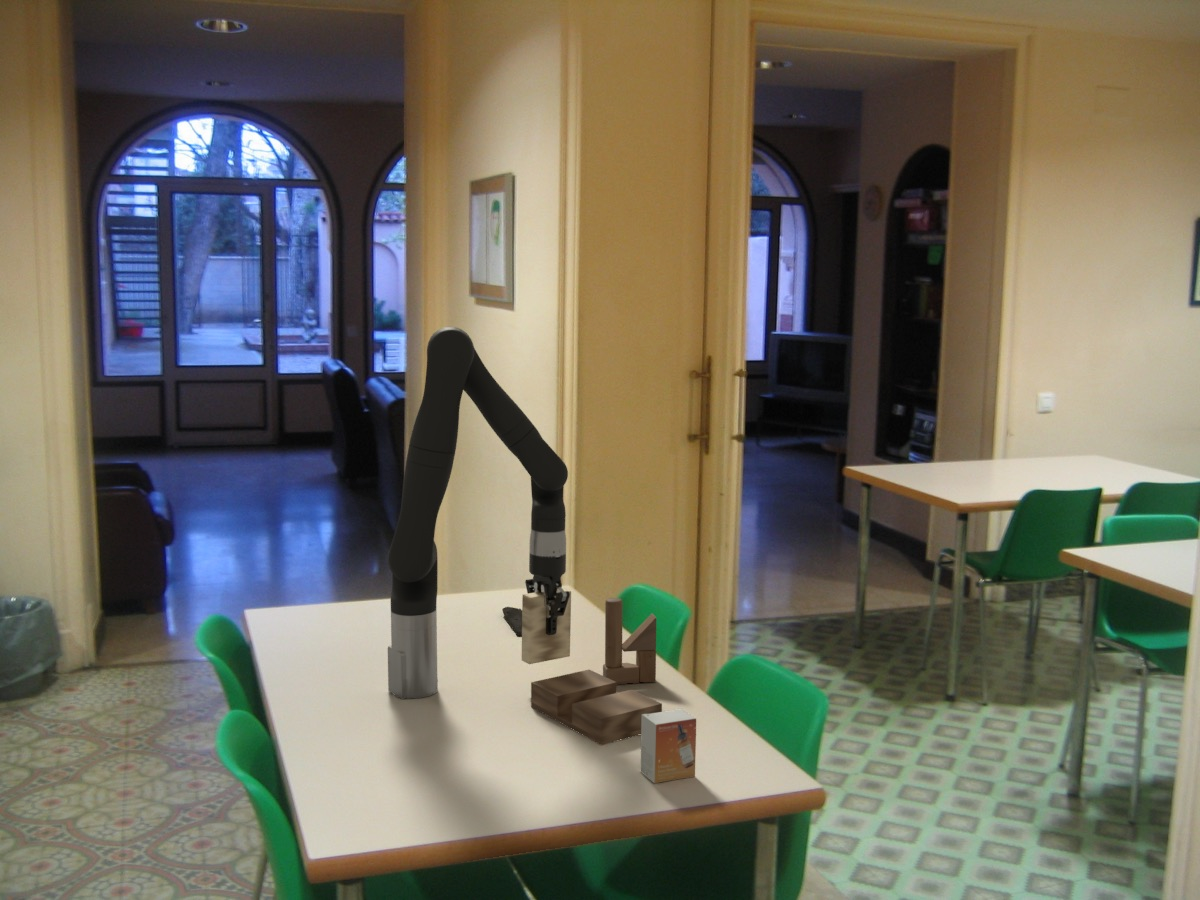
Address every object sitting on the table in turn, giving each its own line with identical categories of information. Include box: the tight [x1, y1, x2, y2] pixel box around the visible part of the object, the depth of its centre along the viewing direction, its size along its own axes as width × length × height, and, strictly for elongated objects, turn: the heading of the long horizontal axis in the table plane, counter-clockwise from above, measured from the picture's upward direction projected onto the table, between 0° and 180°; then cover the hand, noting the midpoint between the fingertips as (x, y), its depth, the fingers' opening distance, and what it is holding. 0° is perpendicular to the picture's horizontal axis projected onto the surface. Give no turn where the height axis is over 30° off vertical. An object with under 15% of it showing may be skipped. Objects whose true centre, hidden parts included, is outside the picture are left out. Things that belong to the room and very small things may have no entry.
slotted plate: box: [530, 669, 663, 746], centre depth 229 cm, size 14×24×5 cm, turn 35°
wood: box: [502, 606, 522, 638], centre depth 292 cm, size 22×7×3 cm, turn 16°
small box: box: [640, 708, 697, 784], centre depth 202 cm, size 8×6×10 cm
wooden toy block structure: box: [602, 597, 657, 685], centre depth 249 cm, size 4×11×18 cm, turn 102°
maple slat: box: [521, 587, 572, 665], centre depth 245 cm, size 10×3×14 cm, turn 125°
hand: (546, 631), depth 245 cm, fingers closed on maple slat, 3 cm apart
